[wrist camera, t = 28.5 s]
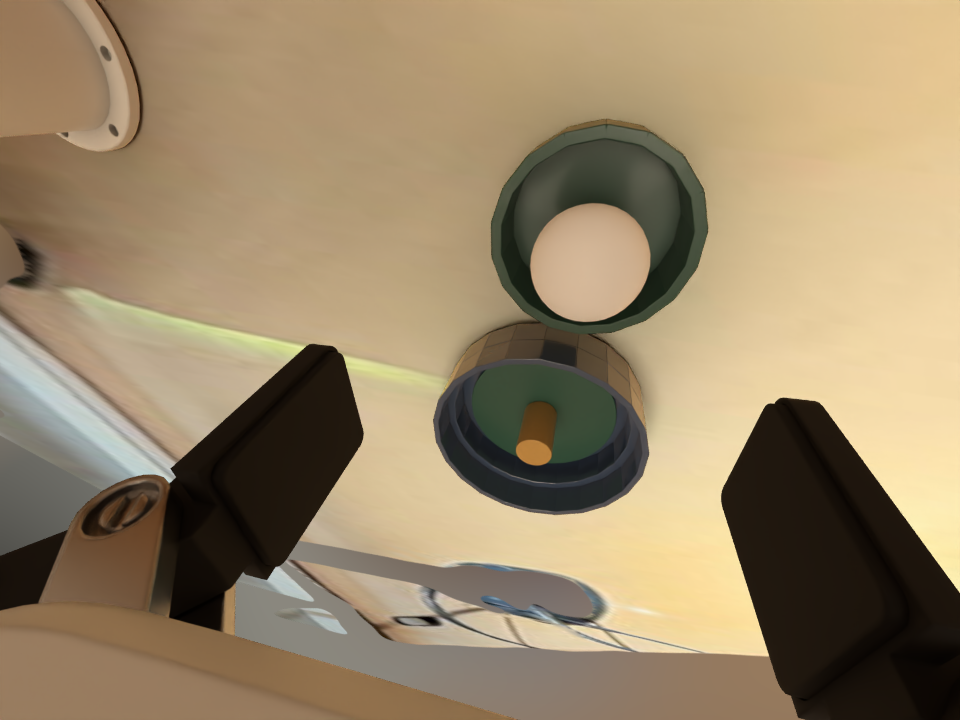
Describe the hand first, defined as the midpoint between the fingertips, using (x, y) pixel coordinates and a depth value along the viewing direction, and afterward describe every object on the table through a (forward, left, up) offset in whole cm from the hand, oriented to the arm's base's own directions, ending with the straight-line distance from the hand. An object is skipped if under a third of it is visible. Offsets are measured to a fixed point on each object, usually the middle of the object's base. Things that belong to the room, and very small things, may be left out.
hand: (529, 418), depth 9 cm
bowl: (-1, -18, -23) cm, 29 cm away
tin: (+1, -1, -23) cm, 23 cm away
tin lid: (-1, -18, -21) cm, 28 cm away
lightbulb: (+1, -1, -22) cm, 22 cm away
